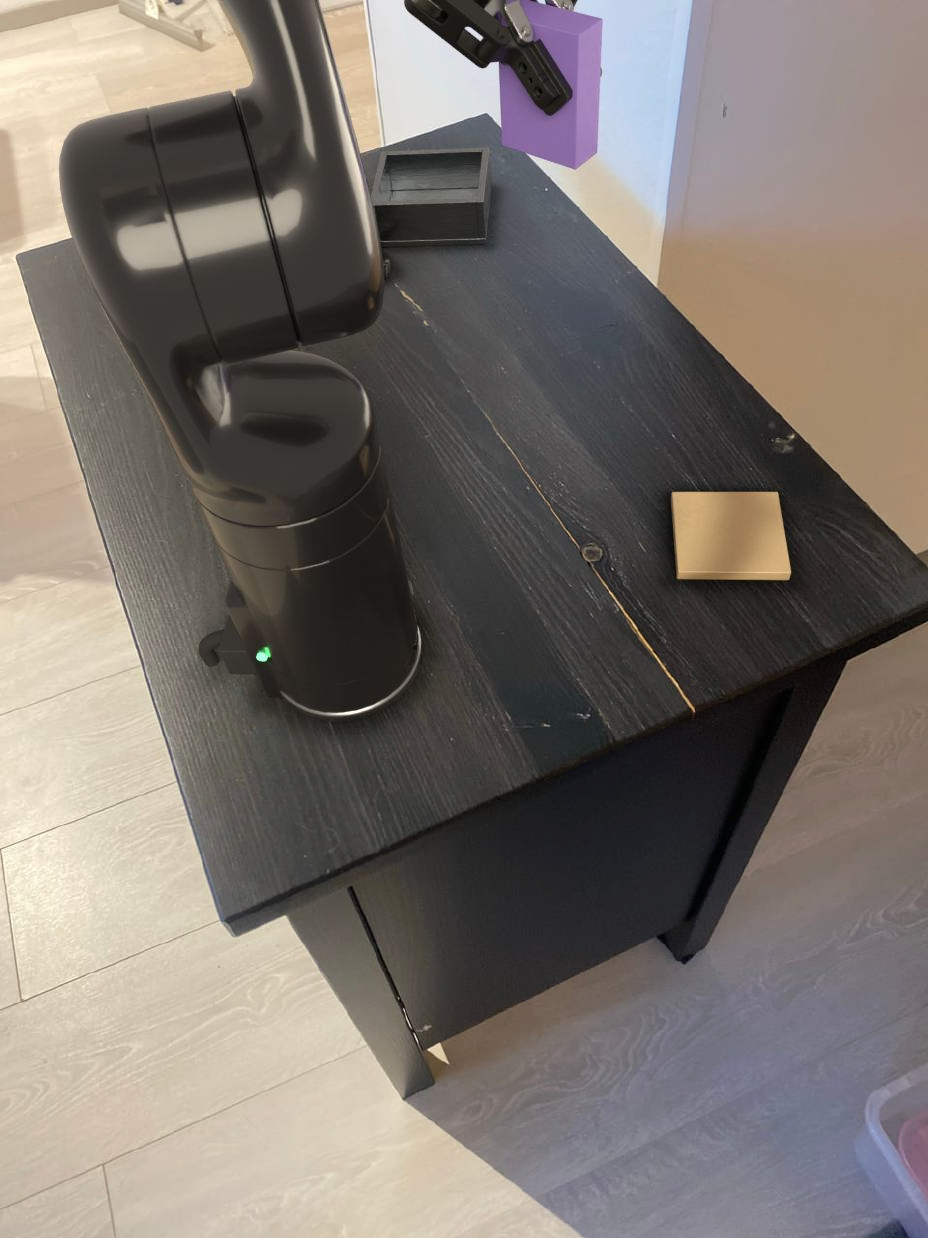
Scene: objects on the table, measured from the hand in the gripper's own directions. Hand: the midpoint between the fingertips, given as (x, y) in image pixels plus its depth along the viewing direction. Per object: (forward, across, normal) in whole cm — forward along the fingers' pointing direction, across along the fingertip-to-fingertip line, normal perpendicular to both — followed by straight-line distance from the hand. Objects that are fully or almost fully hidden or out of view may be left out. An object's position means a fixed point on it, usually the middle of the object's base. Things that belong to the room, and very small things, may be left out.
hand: (575, 94), depth 59 cm
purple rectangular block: (+1, 0, -4) cm, 4 cm away
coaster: (+28, +10, 0) cm, 29 cm away
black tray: (-1, -9, -30) cm, 31 cm away
